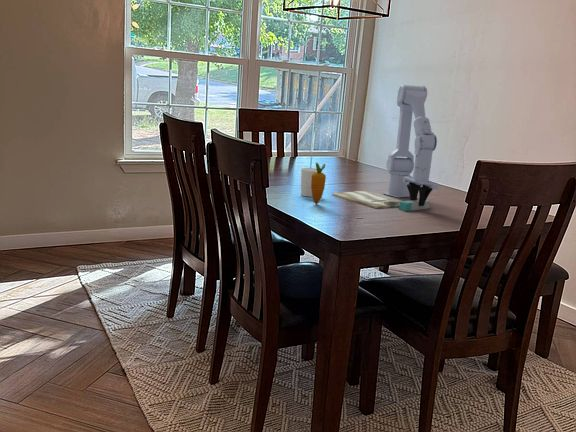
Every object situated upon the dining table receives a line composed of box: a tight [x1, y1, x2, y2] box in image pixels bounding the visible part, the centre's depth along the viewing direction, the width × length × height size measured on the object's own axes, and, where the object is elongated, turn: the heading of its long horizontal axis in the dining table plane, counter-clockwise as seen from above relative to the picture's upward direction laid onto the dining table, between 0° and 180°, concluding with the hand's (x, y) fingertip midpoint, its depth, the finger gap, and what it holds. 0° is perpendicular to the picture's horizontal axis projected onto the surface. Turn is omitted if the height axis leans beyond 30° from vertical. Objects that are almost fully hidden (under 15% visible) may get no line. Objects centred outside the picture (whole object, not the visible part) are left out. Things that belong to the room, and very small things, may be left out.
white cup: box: [300, 167, 323, 198], centre depth 203 cm, size 8×8×10 cm
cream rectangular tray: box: [331, 190, 402, 209], centre depth 203 cm, size 18×24×2 cm
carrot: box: [311, 162, 327, 205], centre depth 187 cm, size 5×5×15 cm
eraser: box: [398, 199, 431, 212], centre depth 194 cm, size 14×3×3 cm, turn 126°
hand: (417, 204), depth 194 cm, fingers closed on eraser, 3 cm apart
